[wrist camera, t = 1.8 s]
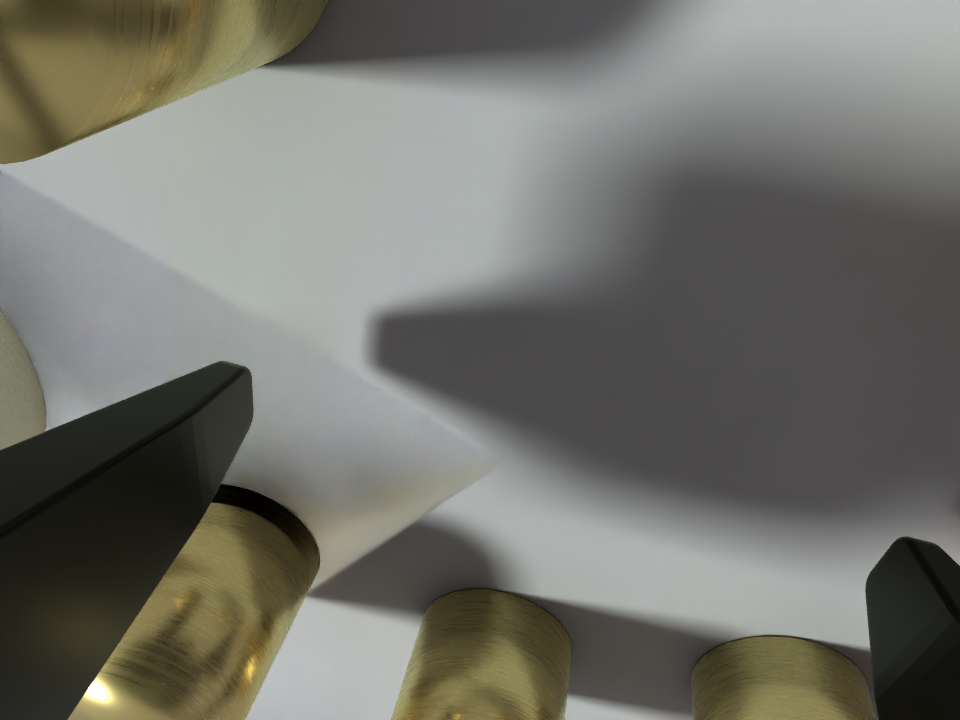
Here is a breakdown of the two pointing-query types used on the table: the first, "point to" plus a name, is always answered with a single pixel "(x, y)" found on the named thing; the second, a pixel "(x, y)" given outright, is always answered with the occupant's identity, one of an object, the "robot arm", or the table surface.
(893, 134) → the table surface
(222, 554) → the spacer field
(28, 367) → the cream white mushroom
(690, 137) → the table surface
